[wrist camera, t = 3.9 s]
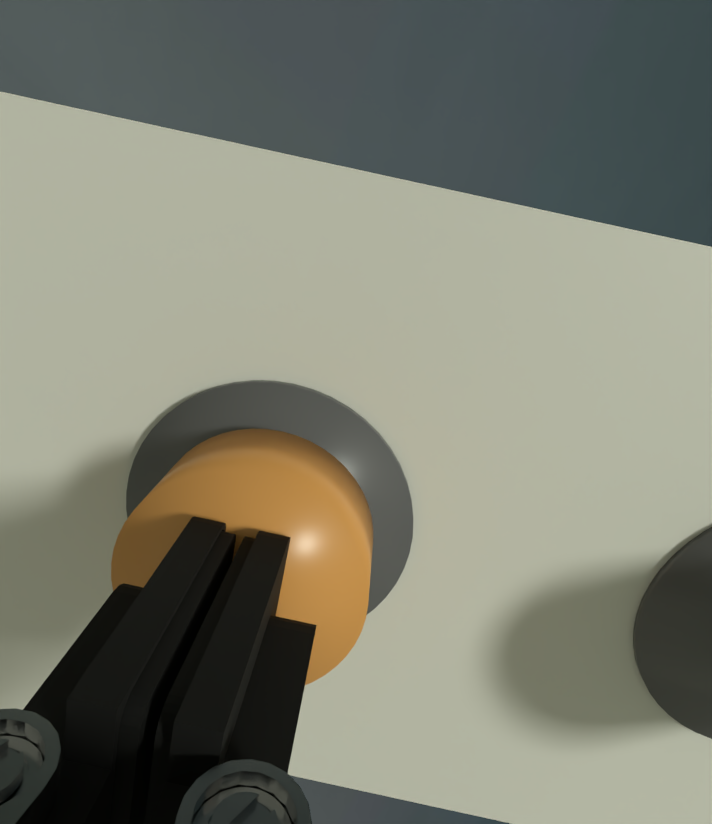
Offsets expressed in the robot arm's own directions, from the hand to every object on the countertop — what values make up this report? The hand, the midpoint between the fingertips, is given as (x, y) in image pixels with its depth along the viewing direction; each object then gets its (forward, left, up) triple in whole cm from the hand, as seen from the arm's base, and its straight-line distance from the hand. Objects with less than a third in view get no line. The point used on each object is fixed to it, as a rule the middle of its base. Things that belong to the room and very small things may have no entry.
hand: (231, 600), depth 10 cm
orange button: (0, 0, -2) cm, 2 cm away
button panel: (0, +11, -6) cm, 12 cm away
